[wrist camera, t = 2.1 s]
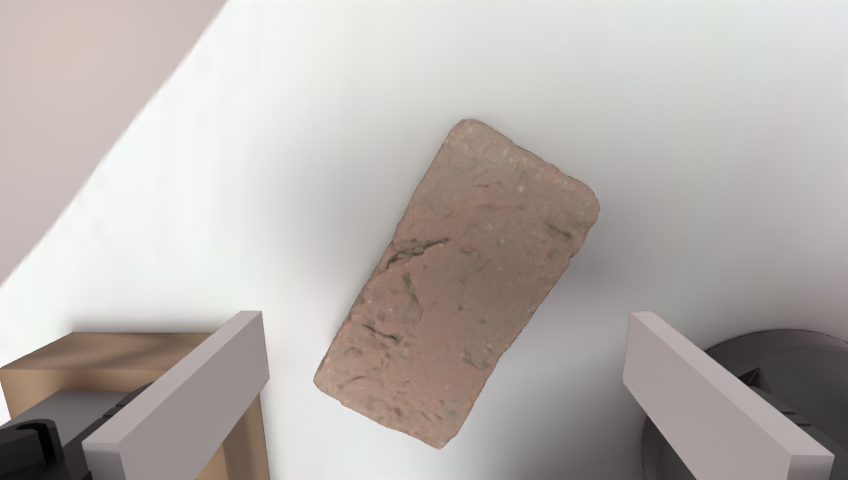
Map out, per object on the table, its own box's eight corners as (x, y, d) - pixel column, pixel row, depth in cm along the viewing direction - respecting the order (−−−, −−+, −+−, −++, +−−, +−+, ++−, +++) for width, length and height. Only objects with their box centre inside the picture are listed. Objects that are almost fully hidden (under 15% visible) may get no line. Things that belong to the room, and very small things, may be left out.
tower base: (255, 329, 26) (211, 370, 21) (280, 530, 29) (247, 606, 25) (79, 329, 27) (-3, 369, 22) (124, 526, 30) (61, 599, 25)
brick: (458, 114, 22) (461, 105, 18) (587, 188, 23) (622, 199, 18) (330, 348, 26) (304, 391, 21) (442, 407, 26) (441, 462, 22)
